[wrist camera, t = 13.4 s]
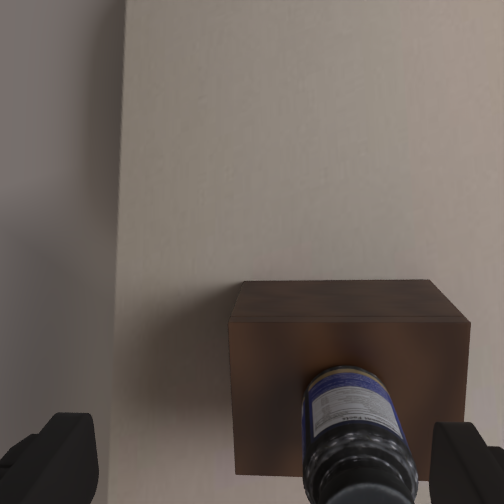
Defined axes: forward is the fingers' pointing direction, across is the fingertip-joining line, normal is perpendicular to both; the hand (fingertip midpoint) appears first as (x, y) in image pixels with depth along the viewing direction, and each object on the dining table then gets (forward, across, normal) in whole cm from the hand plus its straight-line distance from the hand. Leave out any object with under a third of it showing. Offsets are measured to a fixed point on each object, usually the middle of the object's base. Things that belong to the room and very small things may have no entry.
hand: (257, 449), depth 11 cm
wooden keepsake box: (+30, -5, +11) cm, 33 cm away
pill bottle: (+20, -5, +11) cm, 24 cm away
